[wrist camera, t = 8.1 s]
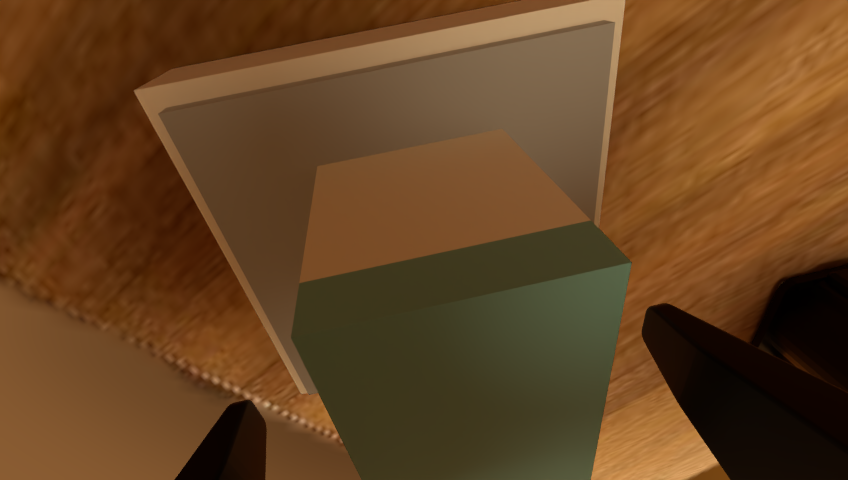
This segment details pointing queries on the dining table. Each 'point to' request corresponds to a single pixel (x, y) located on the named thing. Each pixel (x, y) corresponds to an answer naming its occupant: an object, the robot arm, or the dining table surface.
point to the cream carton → (458, 314)
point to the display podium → (380, 122)
